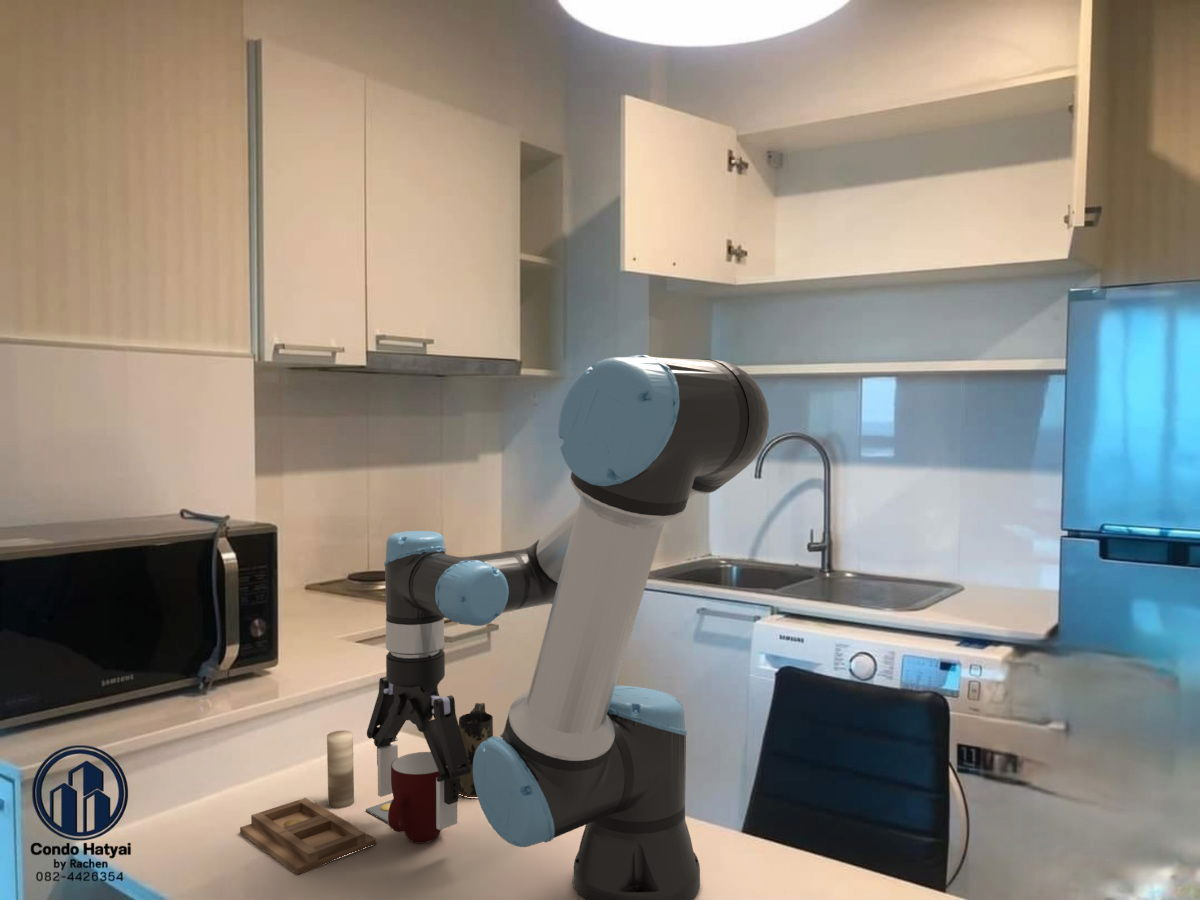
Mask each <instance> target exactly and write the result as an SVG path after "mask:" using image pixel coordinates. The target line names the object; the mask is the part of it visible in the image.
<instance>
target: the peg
mask: <svg viewBox="0 0 1200 900" xmlns="http://www.w3.org/2000/svg"><path fill="white" fill-rule="evenodd" d="M326 746H327V747H326V750H327V751H326V753H327V758H326V759H327V801H328V802H327V805H328V807H330V808H332V807H333V808H332V809H343V808H342V807H345V808H347V806H348V807H351V806H352V805H353V804H354V803H355V780H354V779H355V776H354V774H355V773H354V768H355V767H354V732H352V731H351V730H345V729H344V730H336V731H332V732H330V733H327V735H326Z"/></svg>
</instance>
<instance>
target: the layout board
mask: <svg viewBox="0 0 1200 900" xmlns="http://www.w3.org/2000/svg"><path fill="white" fill-rule="evenodd" d="M250 819H251V820H250V821H251V822H250V824H246V825H244V826H243V825H242V826H241V827H239V830H240V831H239V834H240V835H242V836H243V837H245V838H246V839H247V840H249V841H250V842H251V843H253V844H255V845H256V846H257V847H259V848H260V849H262V850H263V851H264V852H265V853H267V854H268V855H269V856H271V857H272V858H274V859H275V860H277V861H278V862H280V863H281V864H282V865H283V866H285V867H286V866H287V867H286V868H288V869H289V868H290V869H291V871H292V872H293V871H294V872H293V873H295V874H296V873H297V874H298V875H300V873H301V874H303V873H306V872H308V871H311V870H314V869H316V868H318V867H321V865H322V866H324V865H326V864H325V863H327V864H329V863H328V862H330V861H332V860H334V859H337V858H339V857H342V856H344V855H347V854H349V853H352V852H355V851H358V850H361V849H363V848H365V847H368V846H371V845H374V846H376V845H377V838H375V837H374V836H373V835H371V834H369V833H367V832H366V831H365V830H362V829H361V828H359V827H357V826H356V825H354V824H352V823H351V822H349V821H347V820H345V819H344V818H342V817H340V816H338V815H337V814H335V813H334V812H332V811H330V810H329V809H327V808H325V807H324V806H322V805H320V804H318V803H317V802H313V801H311V800H310V799H308V798H306V797H303V798H300V799H297V800H294V801H290V802H287V803H284V804H282V805H279V806H275V807H273V808H269V809H267V810H263V811H259V812H257V813H253V814H251V816H250ZM375 844H376V845H375ZM371 847H372V846H371ZM361 851H362V850H361ZM358 852H359V851H358ZM337 860H338V859H337ZM332 862H333V861H332ZM330 863H331V862H330ZM323 864H324V865H323ZM290 869H289V870H290ZM297 874H296V875H297Z"/></svg>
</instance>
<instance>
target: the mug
mask: <svg viewBox="0 0 1200 900" xmlns="http://www.w3.org/2000/svg"><path fill="white" fill-rule="evenodd" d="M446 767H447V766H446ZM447 769H448V768H447ZM439 776H440V773H439V771H438V768H437V766H436V763H435V761H434V758H433V756H432V754H431V751H420V752H413V753H407V754H405V755H402V756H399V757H398V758H397V759H396V760H394V761H393V762H392V764H391V787H392V792H393V793H392V796H393V798H392V799H391V800H392V802H391V804H390V807H389V812H388V821H389V824H388V825H389V828H390V829H392V831H394V832H397V833H404V835H405V836H406V838H407V840H409V841H410V842H412V843H416V844H425V843H429V842H433V841H434V840H436V839H437V838H438V837H439V835H440V833H441V831H442V830H438V829H437V828H436V778H438V777H439Z"/></svg>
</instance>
